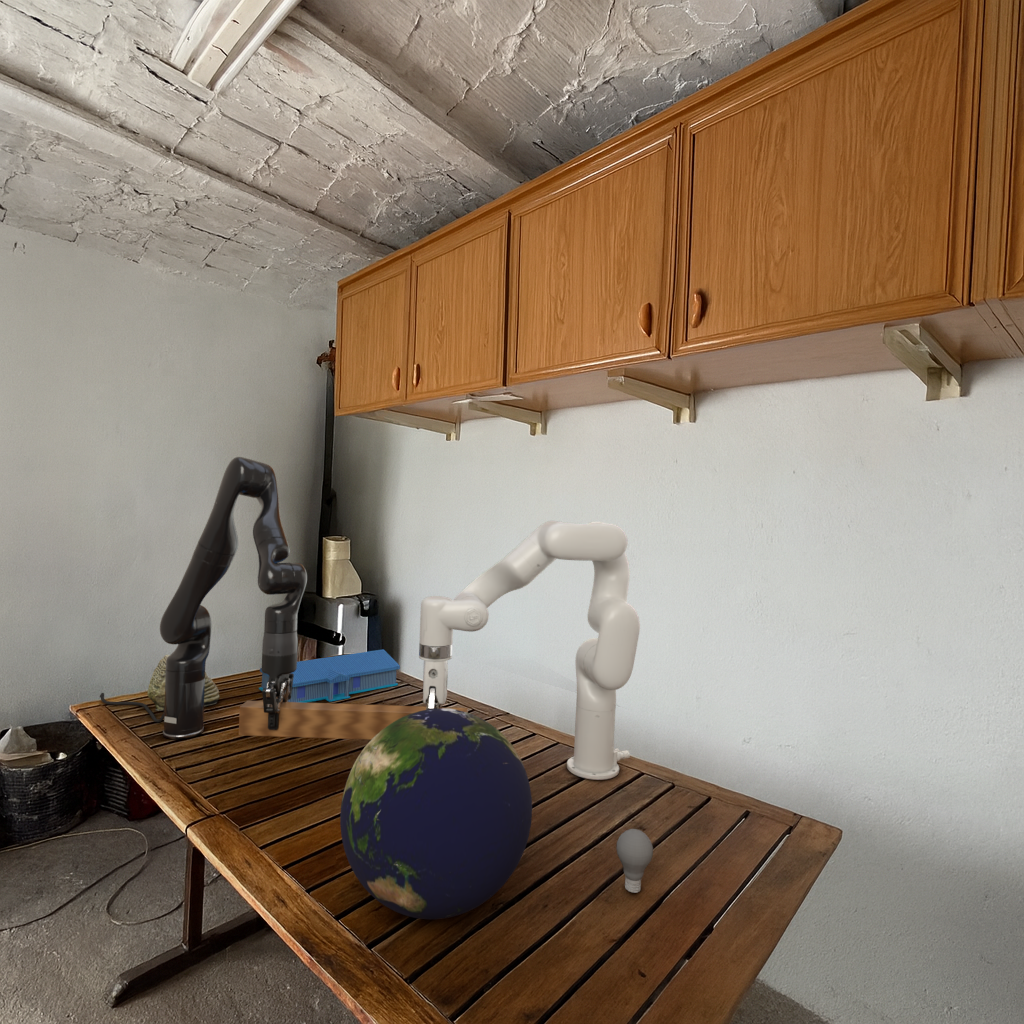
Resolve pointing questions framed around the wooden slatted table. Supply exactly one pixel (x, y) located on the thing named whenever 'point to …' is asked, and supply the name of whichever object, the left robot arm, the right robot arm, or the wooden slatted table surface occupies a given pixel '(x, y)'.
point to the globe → (436, 813)
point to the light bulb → (634, 857)
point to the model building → (341, 676)
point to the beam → (323, 719)
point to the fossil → (158, 687)
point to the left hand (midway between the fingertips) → (277, 724)
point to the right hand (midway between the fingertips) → (432, 729)
